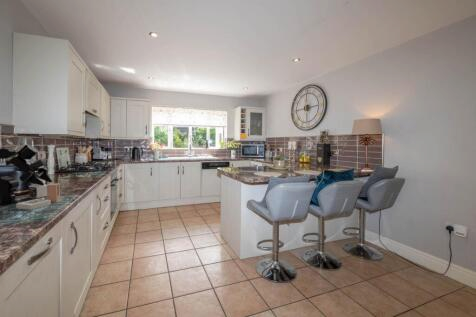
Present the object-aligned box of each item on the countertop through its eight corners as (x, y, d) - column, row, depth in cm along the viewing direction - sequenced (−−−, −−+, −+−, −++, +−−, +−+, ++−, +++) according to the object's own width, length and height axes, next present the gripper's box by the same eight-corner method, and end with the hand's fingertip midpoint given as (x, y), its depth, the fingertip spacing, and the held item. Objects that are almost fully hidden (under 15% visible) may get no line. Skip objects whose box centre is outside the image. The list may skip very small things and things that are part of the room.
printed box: (28, 197, 141) (27, 178, 140) (41, 194, 148) (40, 176, 147) (36, 198, 139) (35, 179, 138) (49, 195, 146) (48, 177, 145)
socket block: (16, 208, 118) (16, 203, 118) (37, 203, 128) (36, 198, 128) (31, 209, 116) (30, 205, 116) (51, 204, 126) (50, 200, 126)
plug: (47, 202, 131) (46, 185, 130) (51, 200, 135) (50, 183, 134) (57, 201, 132) (56, 184, 131) (60, 199, 136) (59, 183, 135)
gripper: (25, 156, 120) (51, 175, 124) (43, 154, 138) (65, 171, 142) (7, 171, 118) (34, 190, 122) (28, 167, 136) (51, 184, 140)
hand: (47, 183), depth 132 cm, fingers open, 9 cm apart
